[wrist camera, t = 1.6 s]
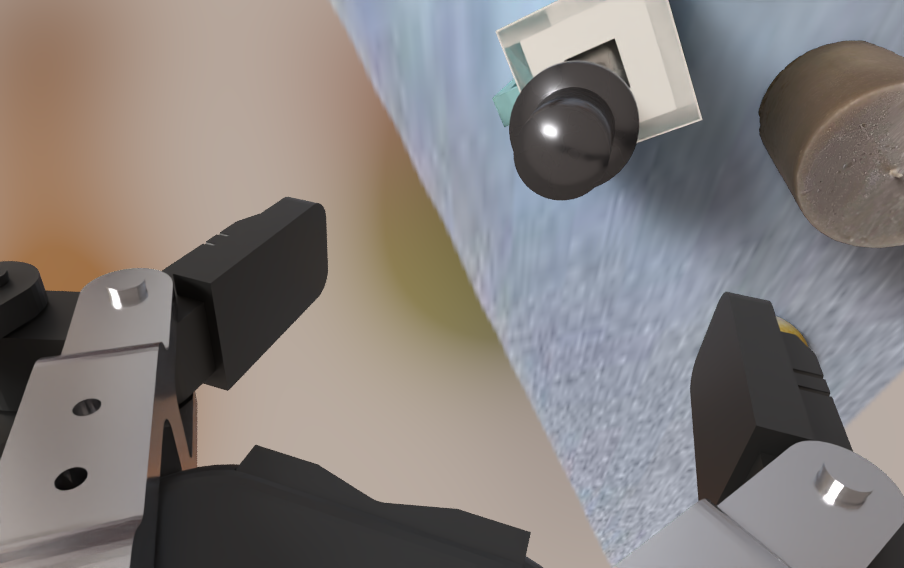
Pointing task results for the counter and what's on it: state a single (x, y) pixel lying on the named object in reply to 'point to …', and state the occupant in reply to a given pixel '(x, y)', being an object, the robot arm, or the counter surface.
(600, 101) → the doorknob
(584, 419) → the counter surface
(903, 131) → the pillar candle
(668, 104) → the open teal box
